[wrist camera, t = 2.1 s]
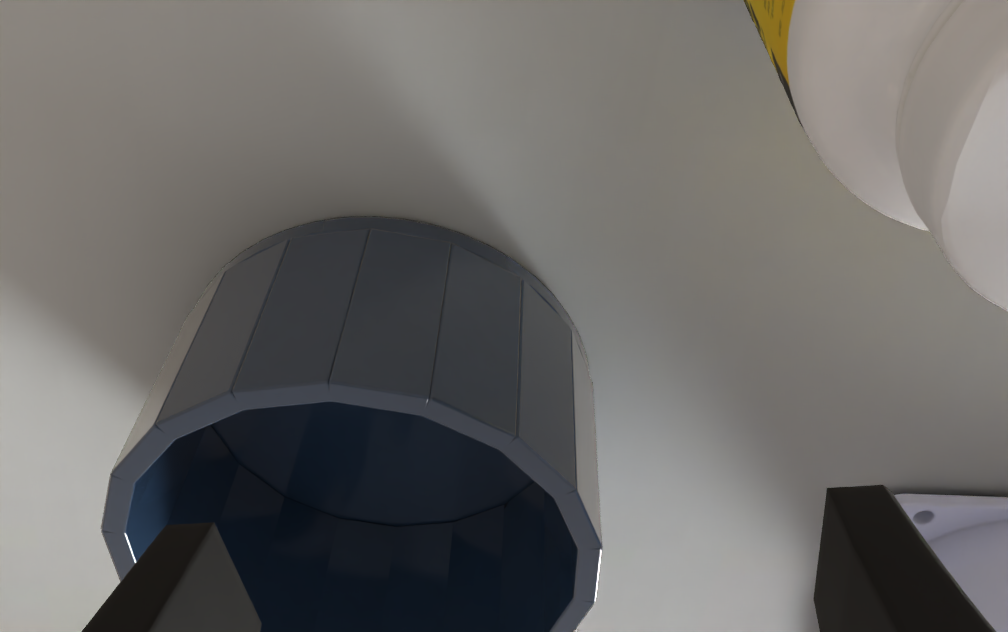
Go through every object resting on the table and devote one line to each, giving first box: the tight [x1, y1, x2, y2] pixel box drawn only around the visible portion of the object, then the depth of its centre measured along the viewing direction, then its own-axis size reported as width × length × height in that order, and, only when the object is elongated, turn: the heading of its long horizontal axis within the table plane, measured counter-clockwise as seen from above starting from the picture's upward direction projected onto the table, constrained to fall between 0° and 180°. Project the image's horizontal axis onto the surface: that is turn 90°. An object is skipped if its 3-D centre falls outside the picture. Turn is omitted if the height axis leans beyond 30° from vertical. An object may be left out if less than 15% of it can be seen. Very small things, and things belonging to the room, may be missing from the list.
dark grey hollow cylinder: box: [101, 216, 602, 632], centre depth 22 cm, size 10×10×6 cm
